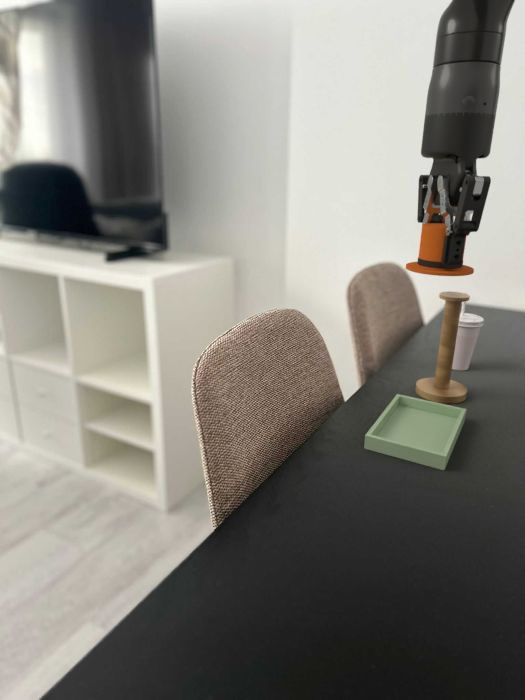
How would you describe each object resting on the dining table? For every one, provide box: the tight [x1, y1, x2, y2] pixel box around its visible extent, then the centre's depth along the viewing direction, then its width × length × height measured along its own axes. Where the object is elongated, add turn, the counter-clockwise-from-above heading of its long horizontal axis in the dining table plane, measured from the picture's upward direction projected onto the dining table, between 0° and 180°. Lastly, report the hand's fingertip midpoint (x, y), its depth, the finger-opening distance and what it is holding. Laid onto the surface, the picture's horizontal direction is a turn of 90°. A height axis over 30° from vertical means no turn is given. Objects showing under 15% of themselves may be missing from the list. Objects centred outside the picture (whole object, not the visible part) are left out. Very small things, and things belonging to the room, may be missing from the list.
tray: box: [363, 393, 468, 471], centre depth 71 cm, size 15×10×2 cm
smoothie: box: [452, 292, 485, 372], centre depth 93 cm, size 6×6×14 cm
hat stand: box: [414, 291, 471, 405], centre depth 82 cm, size 8×8×17 cm
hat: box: [405, 223, 475, 277], centre depth 62 cm, size 8×8×5 cm
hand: (440, 263), depth 63 cm, fingers closed on hat, 5 cm apart
